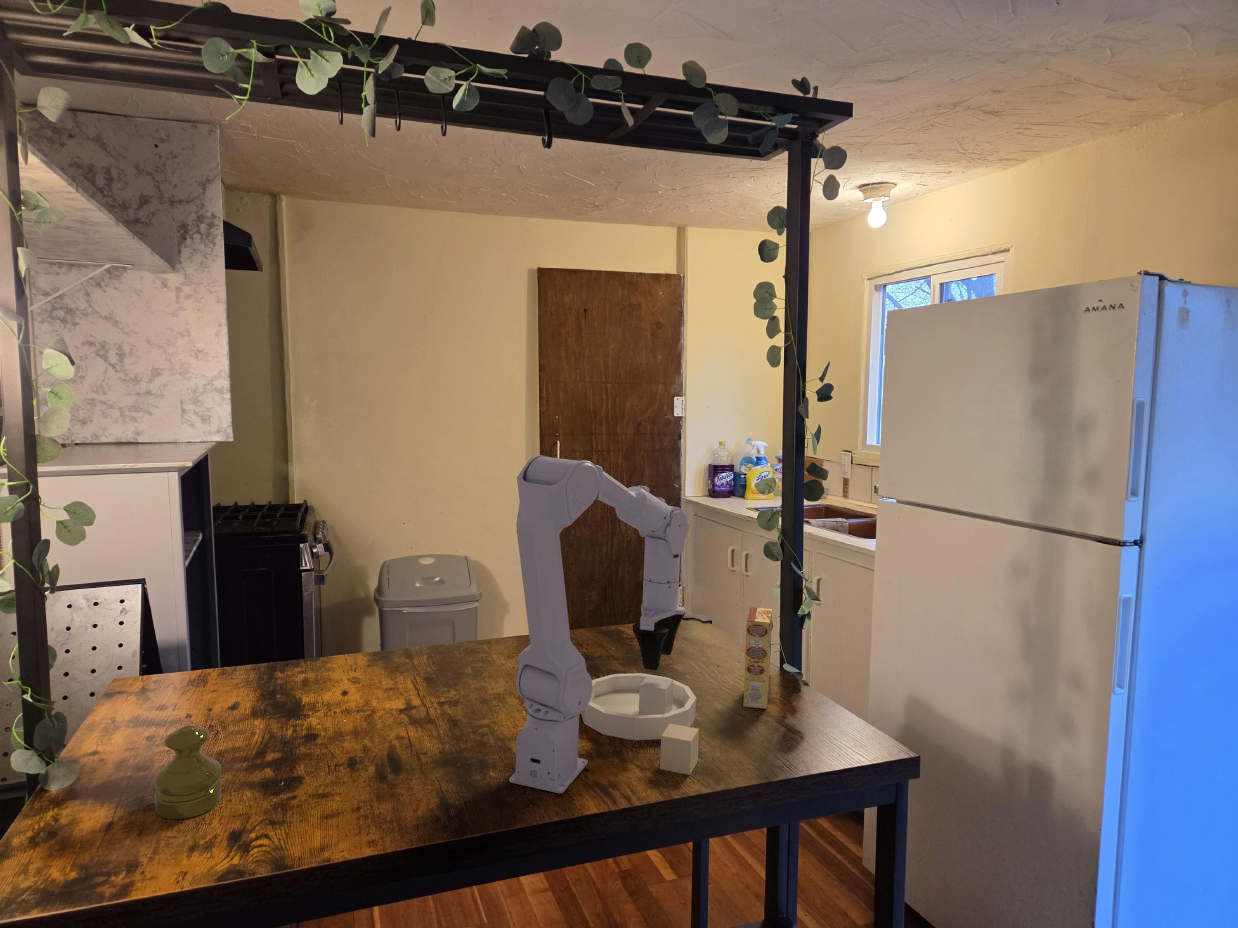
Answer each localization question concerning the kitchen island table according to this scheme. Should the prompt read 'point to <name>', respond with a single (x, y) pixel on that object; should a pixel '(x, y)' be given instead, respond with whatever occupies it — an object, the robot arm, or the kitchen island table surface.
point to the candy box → (757, 657)
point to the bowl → (634, 708)
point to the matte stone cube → (655, 696)
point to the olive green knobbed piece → (187, 777)
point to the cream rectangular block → (679, 749)
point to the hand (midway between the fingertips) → (657, 661)
